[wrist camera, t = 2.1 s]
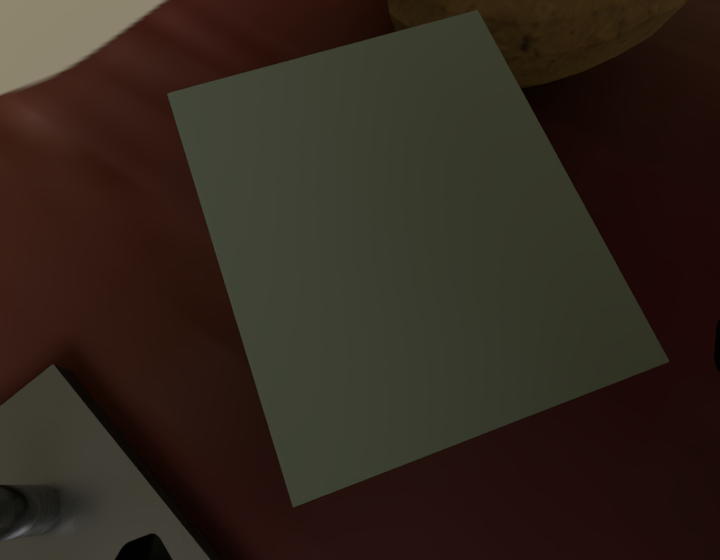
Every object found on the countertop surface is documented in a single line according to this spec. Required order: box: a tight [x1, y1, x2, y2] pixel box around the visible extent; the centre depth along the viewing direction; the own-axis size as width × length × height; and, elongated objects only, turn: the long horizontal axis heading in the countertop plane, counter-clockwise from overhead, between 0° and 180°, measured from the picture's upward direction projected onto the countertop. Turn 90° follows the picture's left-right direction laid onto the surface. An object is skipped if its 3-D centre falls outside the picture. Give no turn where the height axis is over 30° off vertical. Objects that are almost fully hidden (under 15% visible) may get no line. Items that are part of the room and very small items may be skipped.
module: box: [167, 10, 669, 507], centre depth 14 cm, size 6×5×12 cm
